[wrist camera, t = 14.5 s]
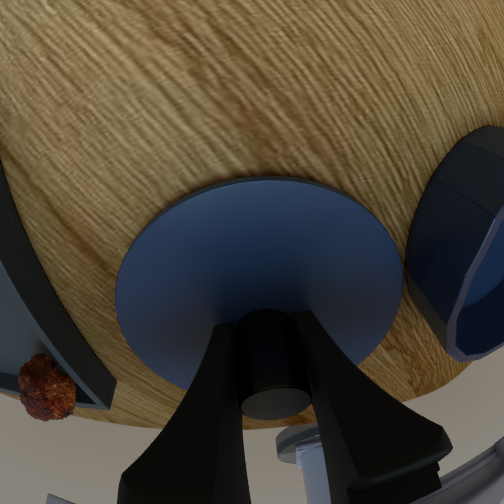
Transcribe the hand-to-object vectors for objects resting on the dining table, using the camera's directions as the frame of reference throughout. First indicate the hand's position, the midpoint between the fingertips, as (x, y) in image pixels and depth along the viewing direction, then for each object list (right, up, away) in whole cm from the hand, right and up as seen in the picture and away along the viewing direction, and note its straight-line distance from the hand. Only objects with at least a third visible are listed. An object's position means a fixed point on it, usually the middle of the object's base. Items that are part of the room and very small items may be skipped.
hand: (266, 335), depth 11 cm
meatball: (-12, -3, +2) cm, 12 cm away
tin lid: (0, 0, +1) cm, 1 cm away
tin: (+11, +4, 0) cm, 12 cm away
